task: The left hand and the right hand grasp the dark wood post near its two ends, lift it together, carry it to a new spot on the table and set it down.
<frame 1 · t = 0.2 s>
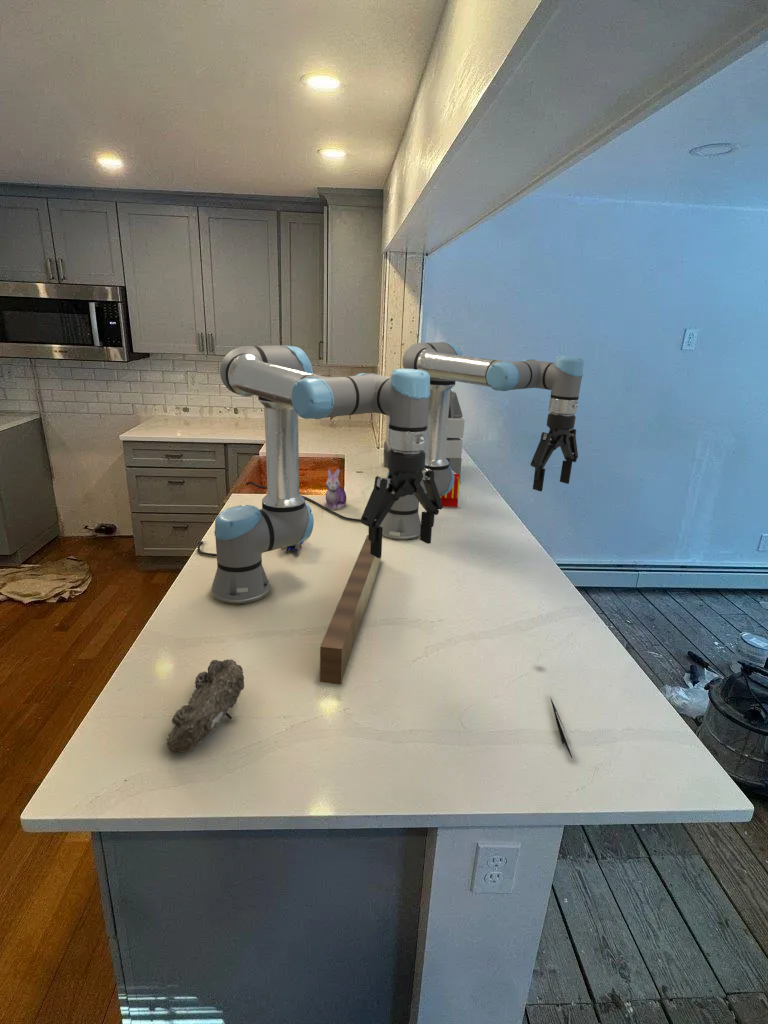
left hand: (401, 548, 119), 27 cm above the counter, tool pointing down, fingers open, 13 cm apart
right hand: (551, 486, 166), 28 cm above the counter, tool pointing down, fingers open, 13 cm apart
post: (356, 610, 148), on the counter
figurine: (335, 506, 224), on the counter
fossil: (212, 717, 108), on the counter
figurine character: (293, 547, 185), on the counter
transformer: (419, 473, 275), on the counter
toy: (441, 496, 242), on the counter
feather: (553, 709, 114), on the counter
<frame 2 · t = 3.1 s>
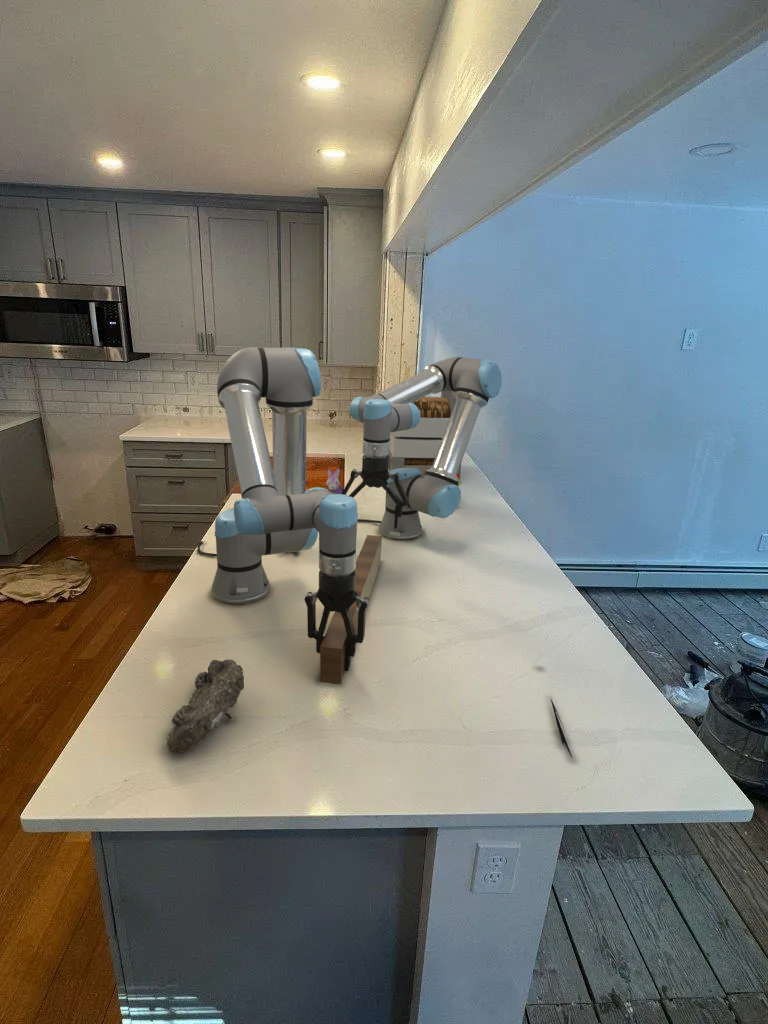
left hand: (335, 666, 124), 1 cm above the counter, tool pointing down, fingers closed on post, 5 cm apart
right hand: (373, 525, 168), 14 cm above the counter, tool pointing down, fingers open, 13 cm apart
post: (356, 610, 148), on the counter, touching left hand
everything else where it was.
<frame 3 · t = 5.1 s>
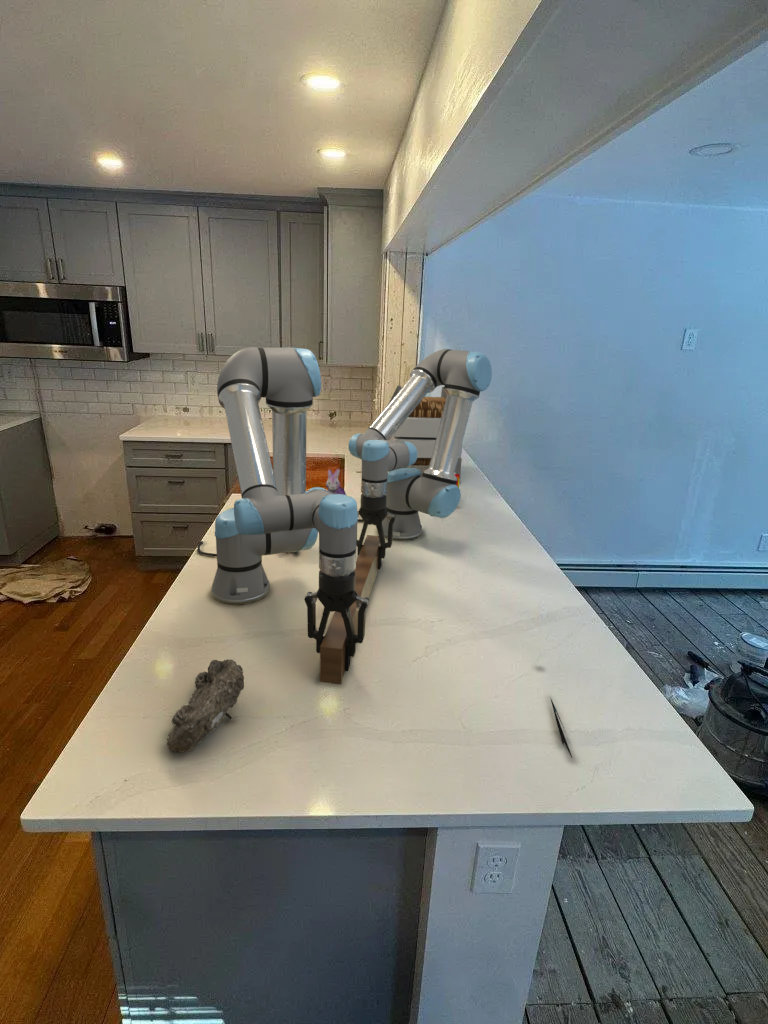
left hand: (335, 666, 124), 1 cm above the counter, tool pointing down, fingers closed on post, 5 cm apart
right hand: (371, 566, 172), 1 cm above the counter, tool pointing down, fingers closed on post, 5 cm apart
post: (356, 610, 148), on the counter, touching right hand, left hand
everything else where it was.
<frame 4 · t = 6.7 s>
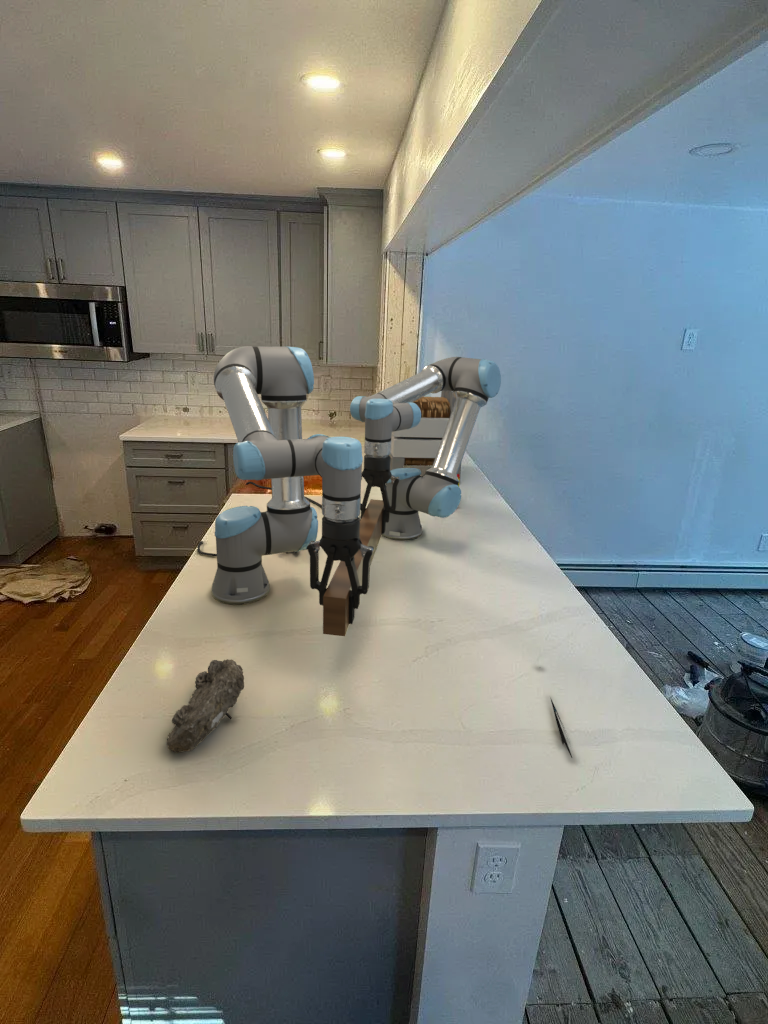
left hand: (339, 619, 120), 12 cm above the counter, tool pointing down, fingers closed on post, 5 cm apart
right hand: (374, 531, 168), 12 cm above the counter, tool pointing down, fingers closed on post, 5 cm apart
post: (359, 570, 144), point 12 cm above the counter, touching right hand, left hand
everything else where it was.
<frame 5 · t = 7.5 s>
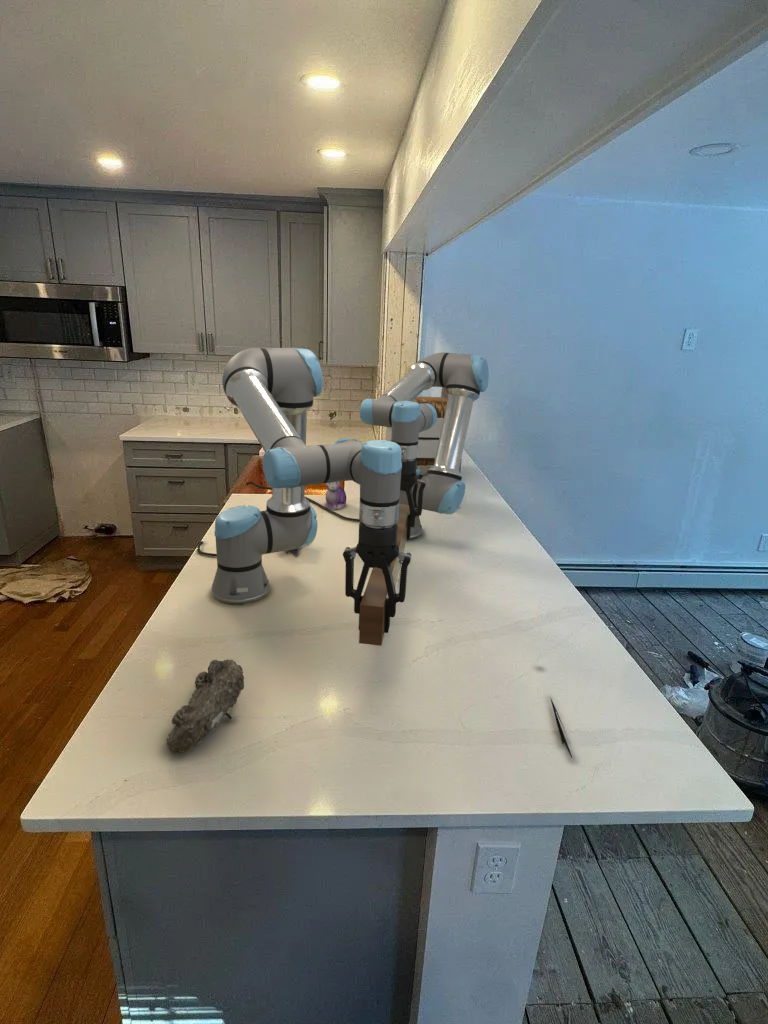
left hand: (374, 627, 117), 13 cm above the counter, tool pointing down, fingers closed on post, 5 cm apart
right hand: (399, 535, 165), 13 cm above the counter, tool pointing down, fingers closed on post, 5 cm apart
post: (388, 576, 141), point 12 cm above the counter, touching right hand, left hand
everything else where it was.
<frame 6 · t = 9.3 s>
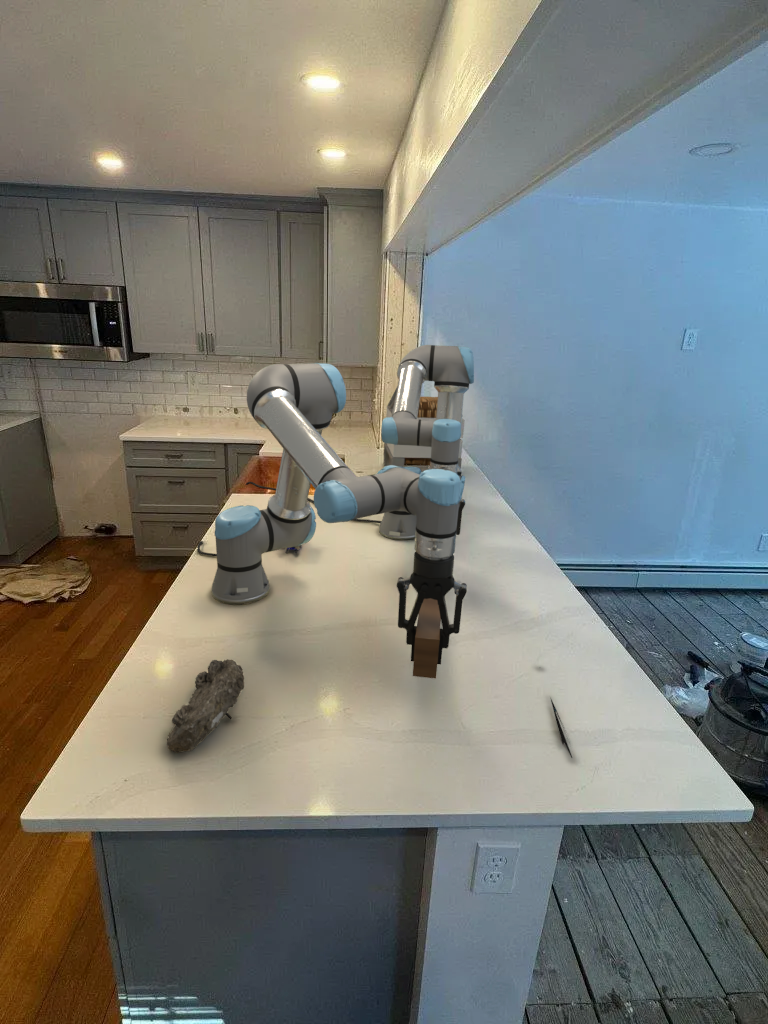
left hand: (426, 658, 114), 9 cm above the counter, tool pointing down, fingers closed on post, 5 cm apart
right hand: (436, 555, 162), 9 cm above the counter, tool pointing down, fingers closed on post, 5 cm apart
post: (432, 600, 138), point 8 cm above the counter, touching right hand, left hand
everything else where it was.
when the left hand's fingers open (1 cm above the counter, at t = 10.4 s): post stays where it is, on the counter.
when the right hand's fingers open (2 cm above the counter, at t = 10.4 s): post stays where it is, on the counter.
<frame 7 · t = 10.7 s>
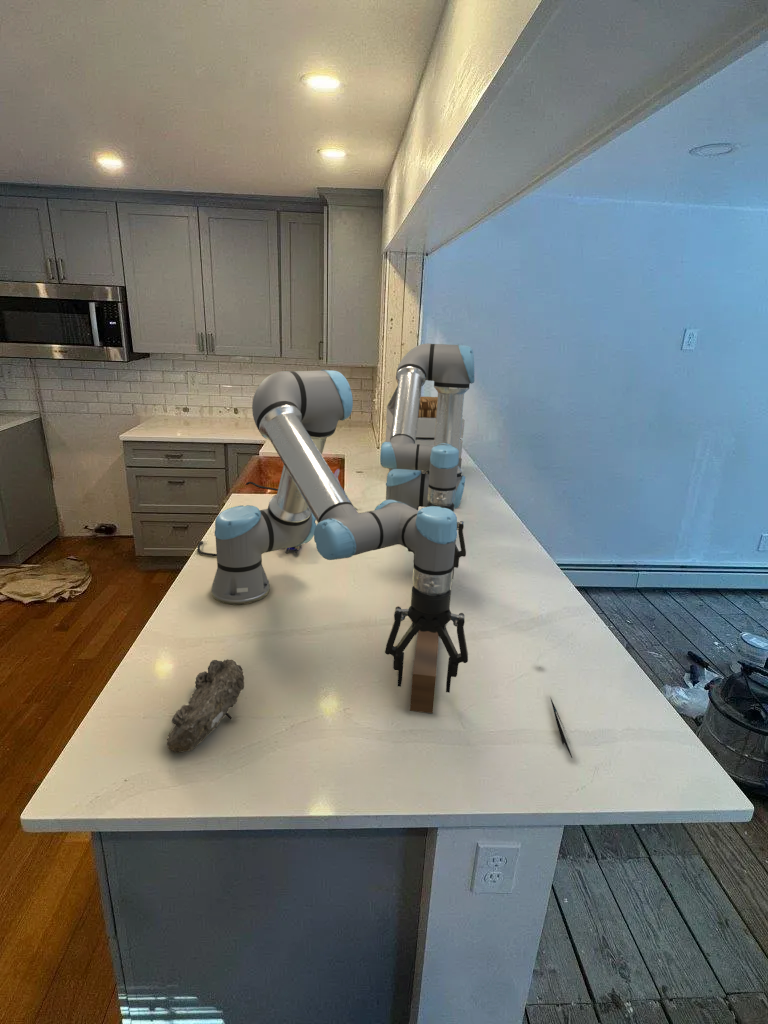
left hand: (423, 685, 116), 3 cm above the counter, tool pointing down, fingers open, 9 cm apart
right hand: (434, 575, 164), 3 cm above the counter, tool pointing down, fingers open, 9 cm apart
post: (429, 629, 141), on the counter
everything else where it was.
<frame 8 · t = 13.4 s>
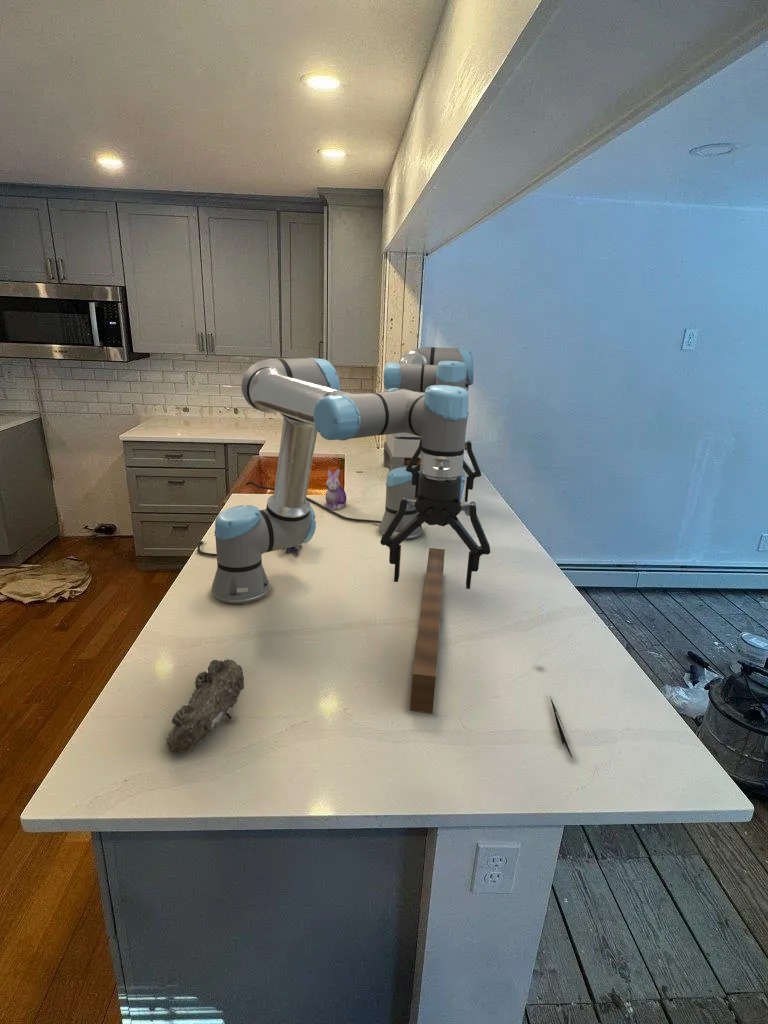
left hand: (432, 582, 108), 26 cm above the counter, tool pointing down, fingers open, 13 cm apart
right hand: (441, 498, 156), 26 cm above the counter, tool pointing down, fingers open, 13 cm apart
nothing on the counter moved.
at the end: post inside the target area (0.1 cm from its centre), on the counter; post tilted 0°; post never tilted more than 1° during the clip; both hands held the post at the same time; the left hand is holding nothing; the right hand is holding nothing; post at rest at the end (0.0 cm/s) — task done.
